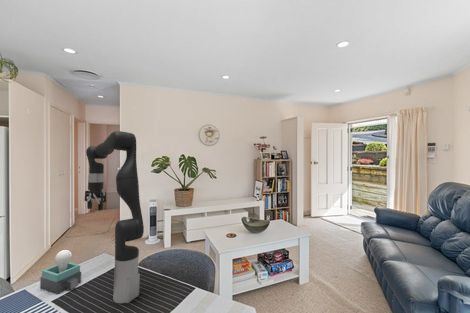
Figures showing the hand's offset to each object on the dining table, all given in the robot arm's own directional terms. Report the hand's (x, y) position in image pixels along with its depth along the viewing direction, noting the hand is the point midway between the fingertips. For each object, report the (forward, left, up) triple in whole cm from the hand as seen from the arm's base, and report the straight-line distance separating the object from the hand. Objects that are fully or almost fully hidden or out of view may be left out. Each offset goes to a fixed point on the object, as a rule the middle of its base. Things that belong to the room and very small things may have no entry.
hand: (94, 209), depth 123 cm
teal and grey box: (-10, +21, -30) cm, 38 cm away
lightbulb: (-8, +21, -25) cm, 34 cm away
